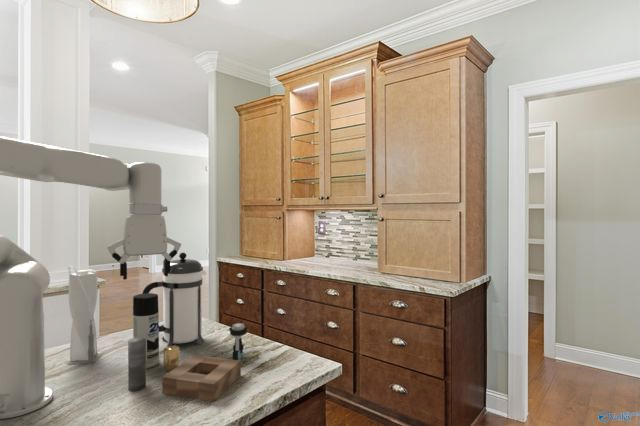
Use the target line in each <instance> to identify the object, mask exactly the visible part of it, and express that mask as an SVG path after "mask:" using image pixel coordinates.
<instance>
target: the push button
mask: <svg viewBox="0 0 640 426" xmlns="http://www.w3.org/2000/svg"><path fill="white" fill-rule="evenodd" d="M228 329H229V330H228V331H229V333H230V336H232V337H235V338H234V344H233V346H232V350H233V351H232V360H240V361H241V359H242V358H244V356H245V353H244V349H245V348H244V344H243V341H242V337H243V336H244V335H246V334H247V331H248V326H246V325H245V323H243V322H236V323H234V324H232V326H230V327H229V328H228Z"/></svg>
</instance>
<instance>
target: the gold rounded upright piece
mask: <svg viewBox="0 0 640 426" xmlns="http://www.w3.org/2000/svg"><path fill="white" fill-rule="evenodd" d="M179 365H180V346H178V345H175V346H169V347H168V346H167V347H164V348H163V372H164V373H165V374H168V373H169V372H170V371H172V370H173V369H175V368H176V367H178V366H179Z"/></svg>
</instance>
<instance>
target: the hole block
mask: <svg viewBox="0 0 640 426" xmlns="http://www.w3.org/2000/svg"><path fill="white" fill-rule="evenodd" d="M241 363H242V361H241V359H240V360H233V358H232V359H230V358H223V357H216V356H215V357H213V356H207V355H206V356H205V355H196V354H194V355H192V356H191V357H190V358H188V359H187V360H185V361H184V362H182V363H180V364H179V366H178V367H176V368H175V369H173V370H172V371H170V372H169V373H165V375H163V376H162V377H161V379H162V380H161V389H162V390H161V393H162V394H165V395H170V396H176V397H177V396H178V397H183V398H184V397H185V398H192V399H197V400H204V401H211V402H215V401H216V400H217V399H218V398H219V397H220V396H221V395H222V394H223V393H224V392H225V391H226V390H227V389H228V388H229V387H230V386H232V384H233V383H234V382H235V381H236V380H237V379H238V378H240V377H241V375H242V372H241V370H242V369H241V365H242V364H241Z"/></svg>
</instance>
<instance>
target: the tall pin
mask: <svg viewBox="0 0 640 426" xmlns="http://www.w3.org/2000/svg"><path fill="white" fill-rule="evenodd" d="M127 350H128V351H127V352H128V354H127V355H128V356H127V357H128V359H127V362H128V364H127V366H128V367H127V372H128V373H127V376H128V378H127V379H128V380H127V382H128V388H127V389H128V390H129V391H130V392H138V391H142V390H144V389H145V388H146V387H147V369H146V338H144V337H137V338H133V337H132V338H130V339H128V341H127Z"/></svg>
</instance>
